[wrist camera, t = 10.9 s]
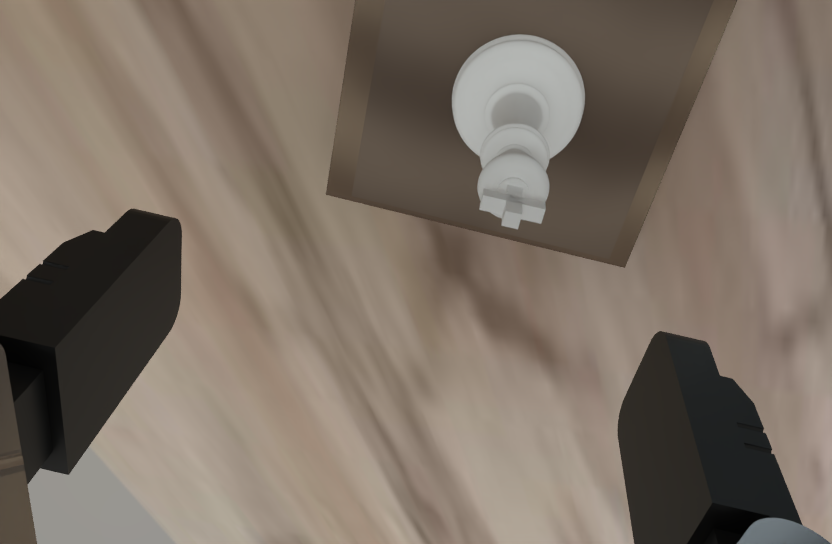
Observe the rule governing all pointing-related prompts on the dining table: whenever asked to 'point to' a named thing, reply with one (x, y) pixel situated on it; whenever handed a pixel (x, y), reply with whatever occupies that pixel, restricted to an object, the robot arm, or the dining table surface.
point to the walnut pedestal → (567, 171)
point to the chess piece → (517, 120)
